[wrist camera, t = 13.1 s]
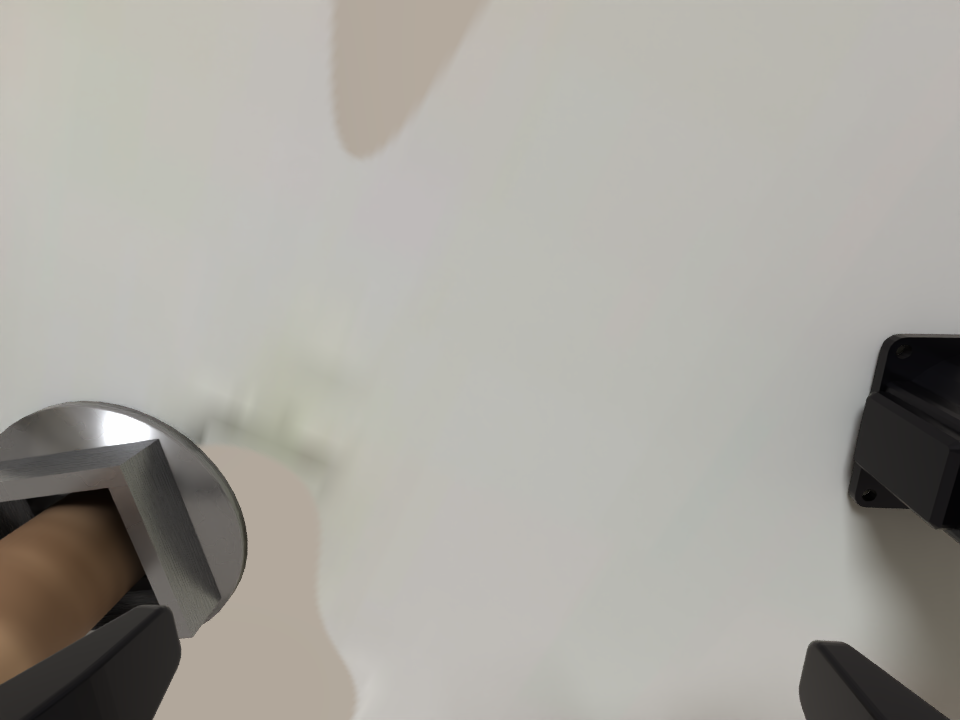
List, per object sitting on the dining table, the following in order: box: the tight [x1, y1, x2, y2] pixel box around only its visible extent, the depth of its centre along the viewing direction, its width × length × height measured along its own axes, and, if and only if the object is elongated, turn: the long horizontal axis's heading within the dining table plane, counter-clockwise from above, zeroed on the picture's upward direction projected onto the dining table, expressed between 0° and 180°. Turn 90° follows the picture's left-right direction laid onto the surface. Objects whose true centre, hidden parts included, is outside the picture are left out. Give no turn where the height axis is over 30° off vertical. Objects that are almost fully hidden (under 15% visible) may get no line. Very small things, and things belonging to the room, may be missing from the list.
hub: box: [0, 401, 247, 639], centre depth 22 cm, size 12×12×3 cm
